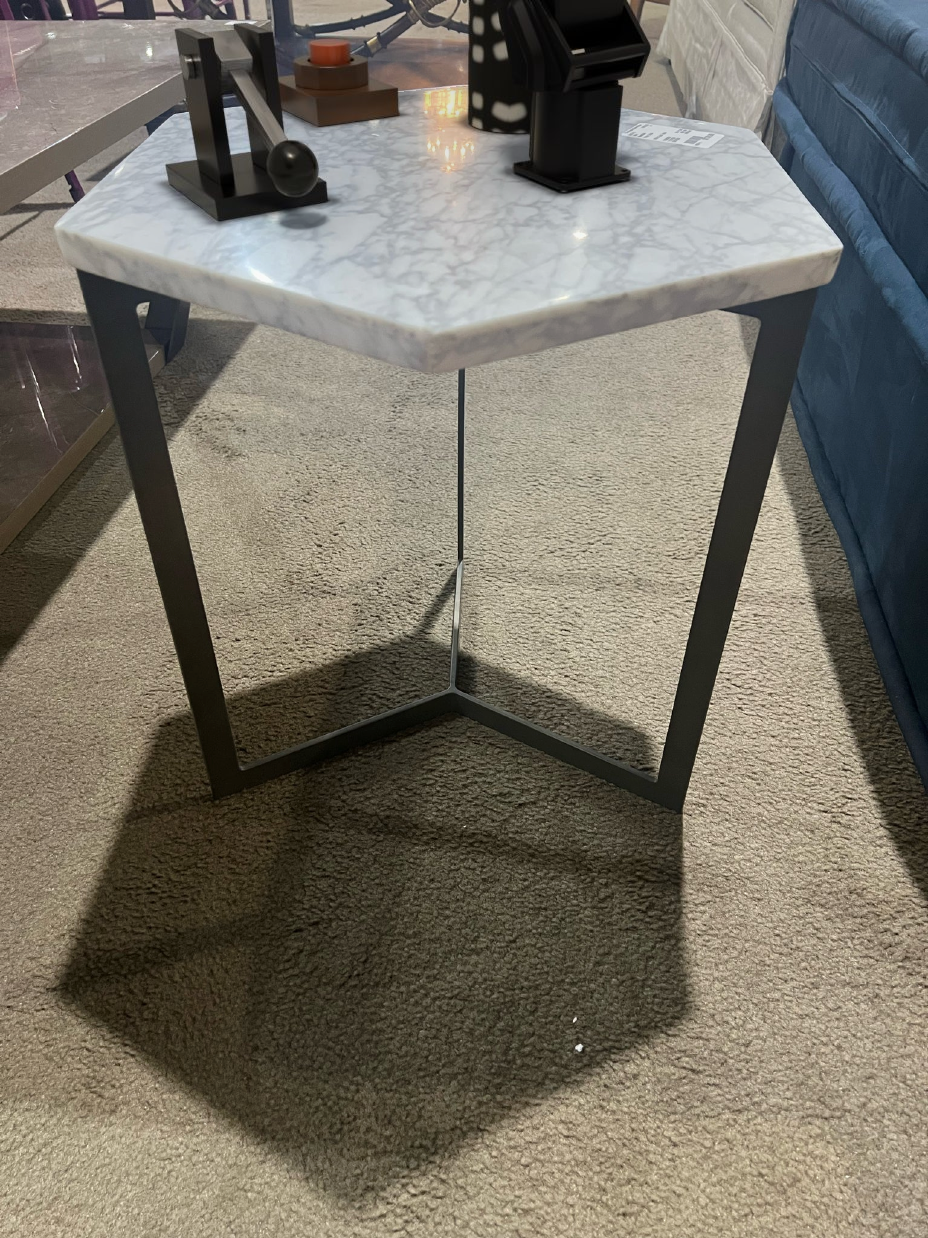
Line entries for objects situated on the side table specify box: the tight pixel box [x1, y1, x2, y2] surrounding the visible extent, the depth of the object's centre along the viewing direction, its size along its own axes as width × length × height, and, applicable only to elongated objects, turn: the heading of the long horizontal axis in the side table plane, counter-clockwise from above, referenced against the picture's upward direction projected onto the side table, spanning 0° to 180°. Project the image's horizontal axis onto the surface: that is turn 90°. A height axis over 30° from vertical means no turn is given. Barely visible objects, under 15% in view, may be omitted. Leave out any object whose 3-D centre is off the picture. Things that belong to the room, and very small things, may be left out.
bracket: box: [165, 22, 329, 222], centre depth 62 cm, size 10×8×10 cm
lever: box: [203, 29, 320, 197], centre depth 59 cm, size 13×3×3 cm, turn 32°
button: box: [308, 38, 351, 64], centre depth 82 cm, size 4×4×2 cm
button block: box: [278, 53, 400, 127], centre depth 84 cm, size 10×8×4 cm
